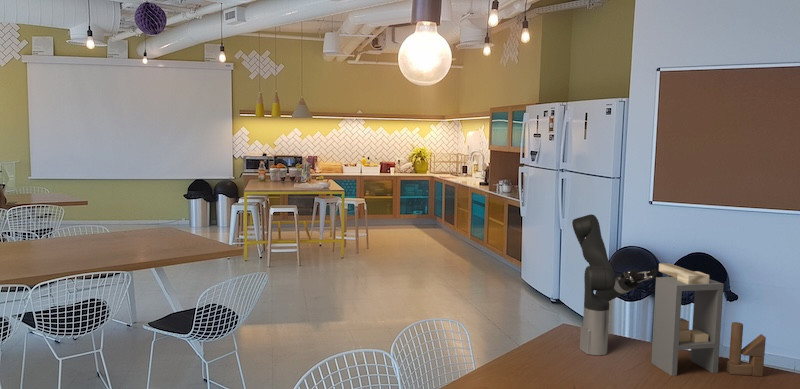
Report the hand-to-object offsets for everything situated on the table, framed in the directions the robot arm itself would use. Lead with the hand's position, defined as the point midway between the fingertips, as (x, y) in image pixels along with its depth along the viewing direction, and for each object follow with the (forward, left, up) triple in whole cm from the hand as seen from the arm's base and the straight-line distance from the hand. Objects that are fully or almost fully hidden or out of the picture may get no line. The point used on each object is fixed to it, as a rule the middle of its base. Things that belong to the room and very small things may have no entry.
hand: (646, 271), depth 237 cm
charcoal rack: (0, -26, -29) cm, 39 cm away
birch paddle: (0, -21, +3) cm, 21 cm away
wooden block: (+18, -34, -30) cm, 49 cm away
